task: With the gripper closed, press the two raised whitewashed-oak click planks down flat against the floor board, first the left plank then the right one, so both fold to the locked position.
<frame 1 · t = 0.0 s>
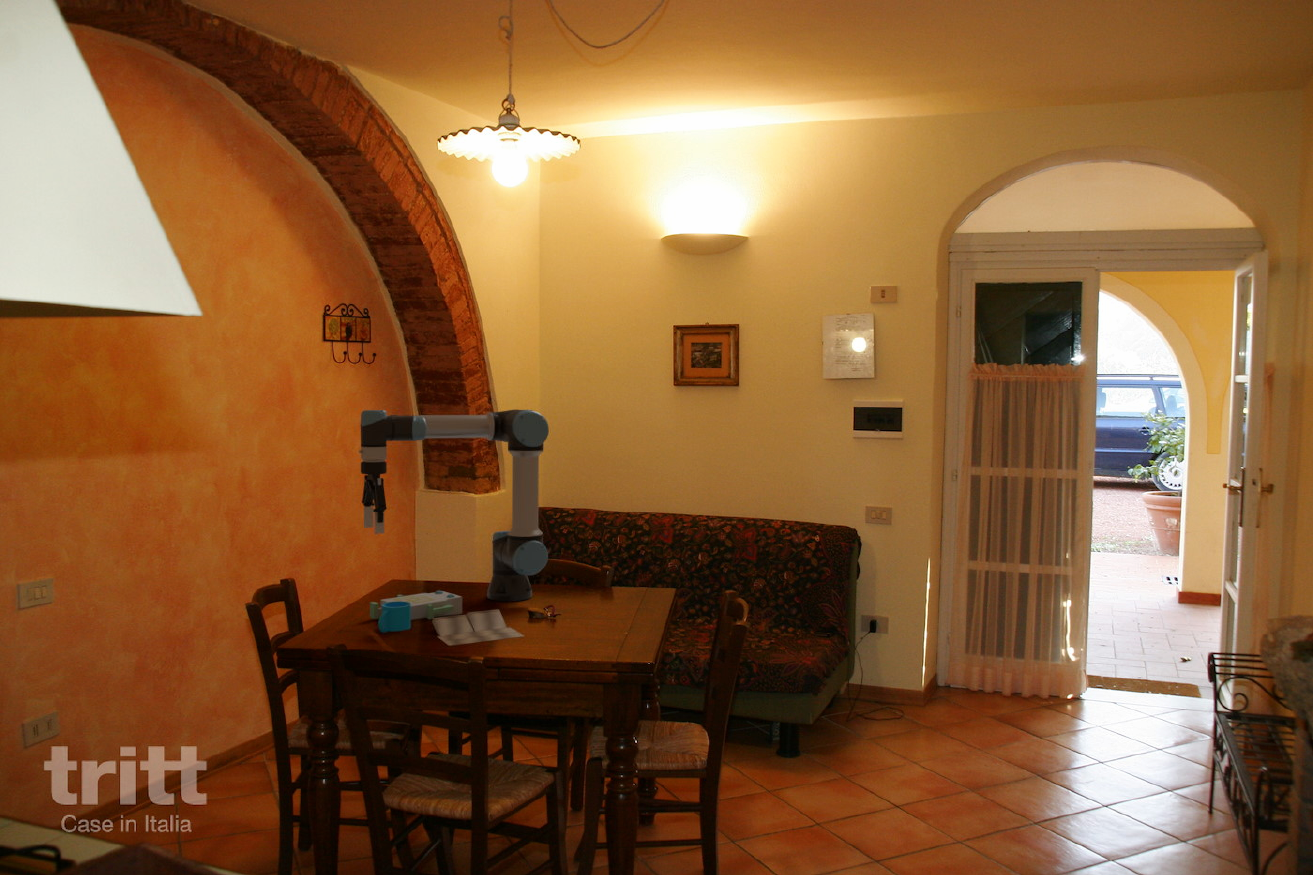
hand: (373, 530, 286), 28 cm above the table, fingers open, 13 cm apart
plank b: (453, 626, 272), point 2 cm above the table, hinge at 25.0°
decorative block: (416, 618, 294), on the table
mug: (392, 634, 274), on the table
plank a: (486, 621, 278), point 3 cm above the table, hinge at 30.0°
floor board: (480, 640, 267), on the table
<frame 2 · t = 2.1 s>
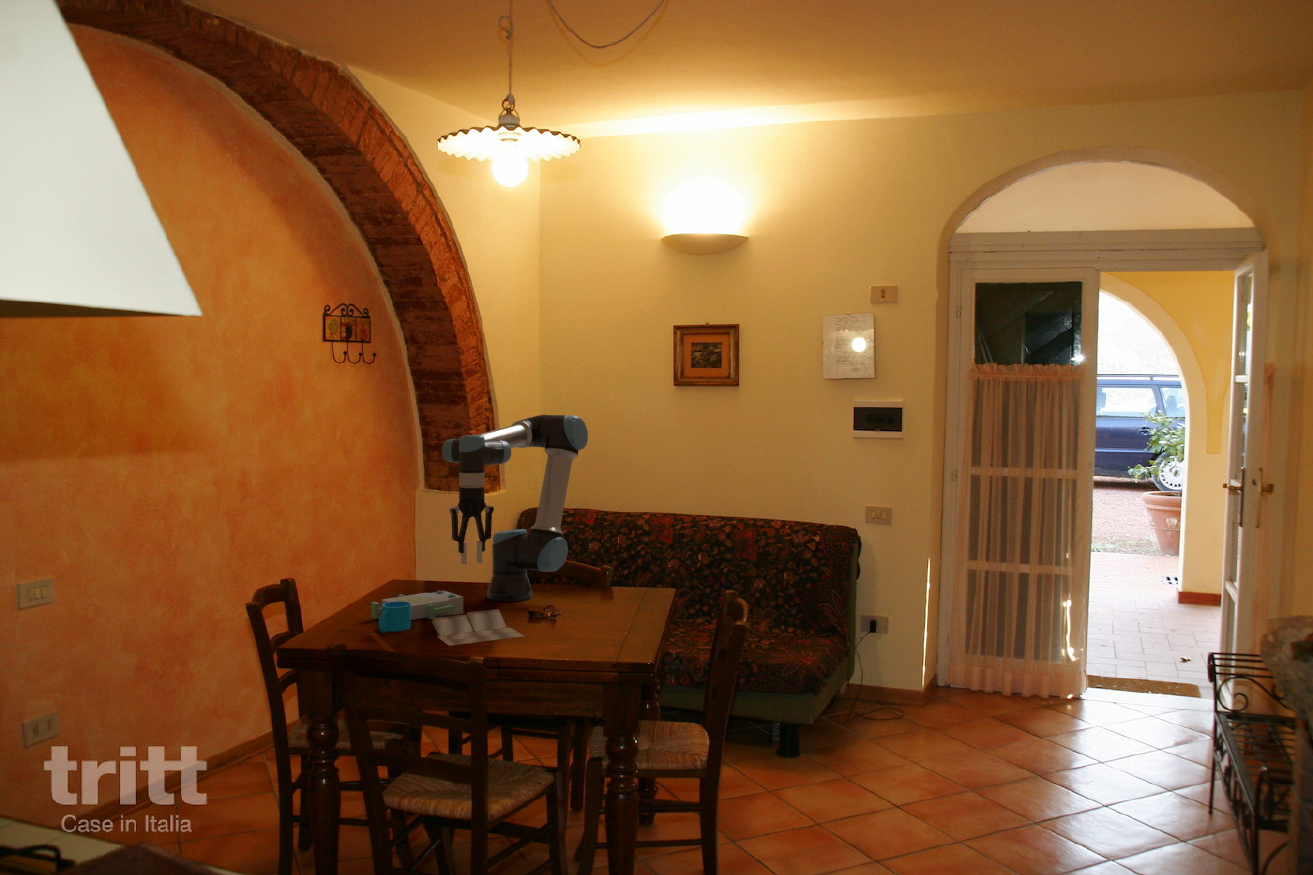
hand: (471, 563, 285), 19 cm above the table, fingers open, 4 cm apart
nothing on the table moved.
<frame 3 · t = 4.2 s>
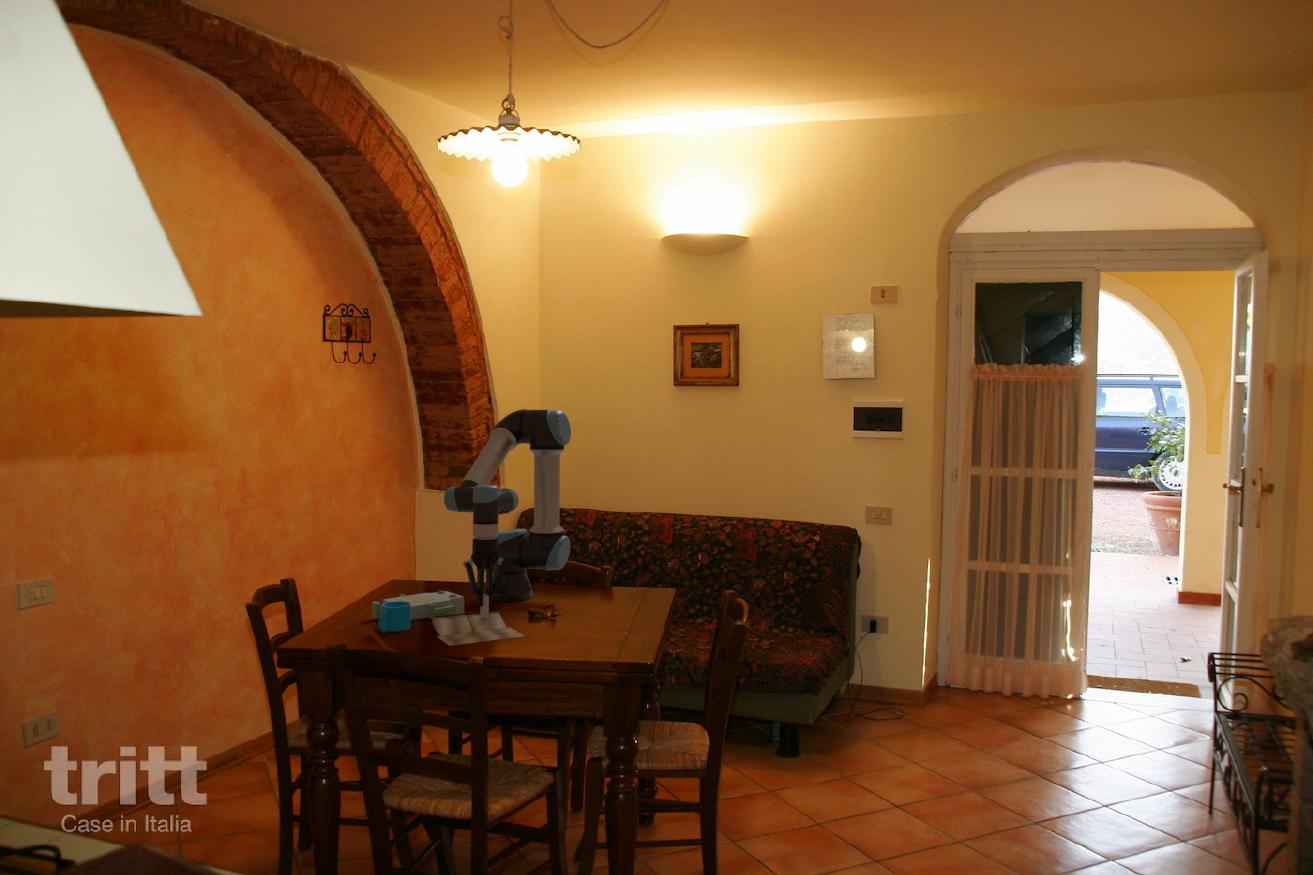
hand: (484, 616, 278), 4 cm above the table, fingers closed
plank a: (486, 623, 278), point 2 cm above the table, hinge at 22.2°, touching gripper
everything else where it was.
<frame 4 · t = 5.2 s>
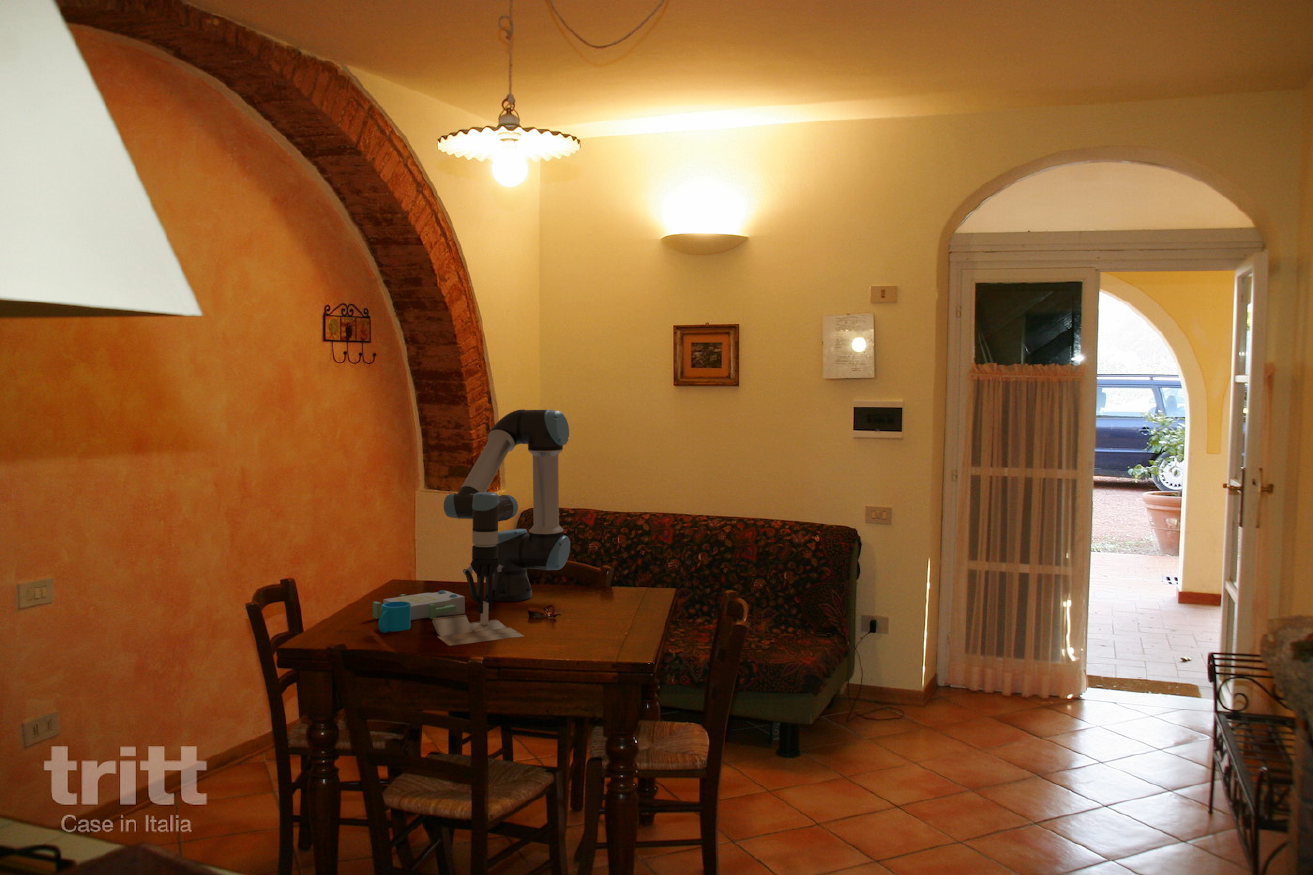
hand: (484, 623, 279), 2 cm above the table, fingers closed
plank a: (486, 627, 278), point 1 cm above the table, hinge at 4.2°, touching gripper
everything else where it was.
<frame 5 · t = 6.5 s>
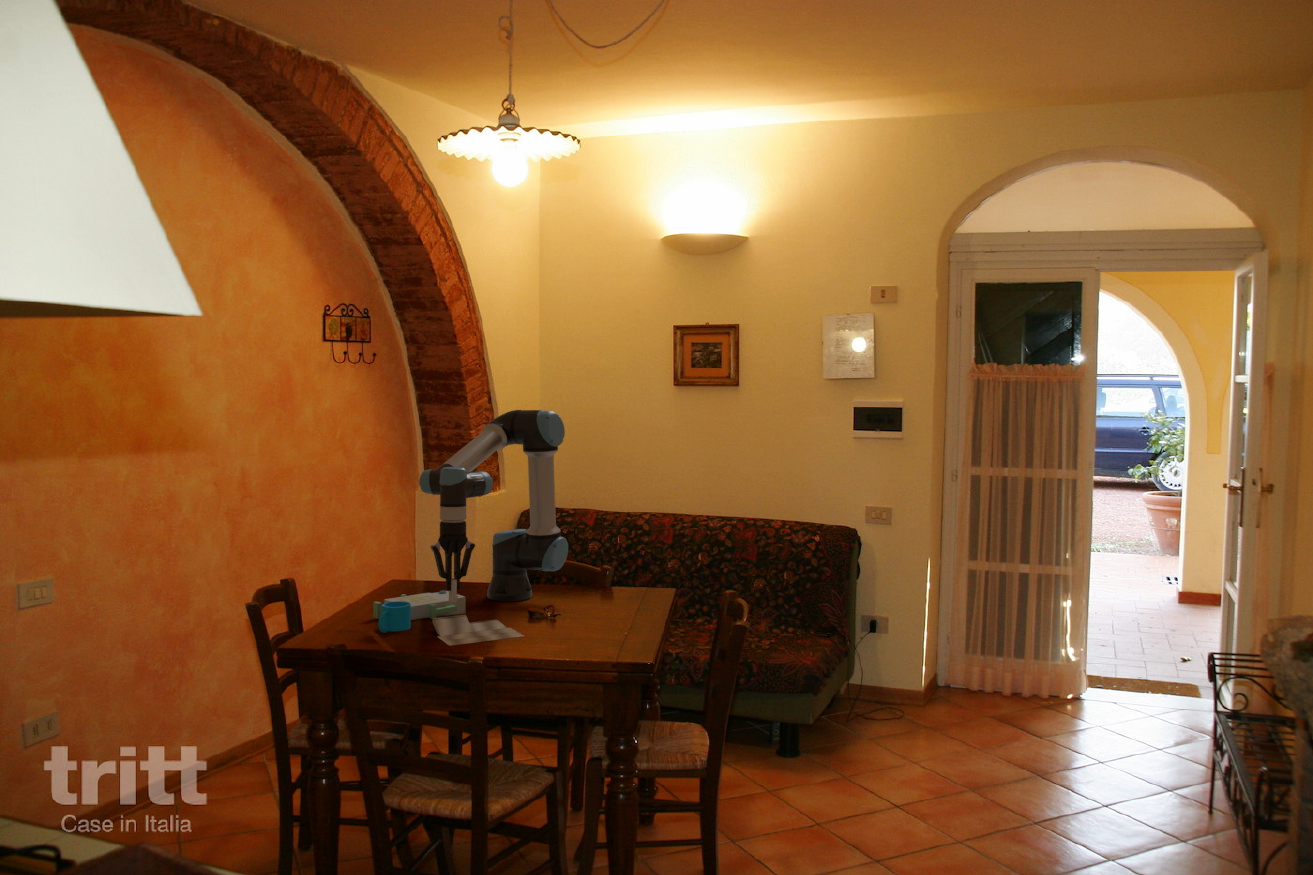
hand: (452, 601, 273), 10 cm above the table, fingers closed
plank a: (486, 627, 278), point 1 cm above the table, hinge at 4.2°
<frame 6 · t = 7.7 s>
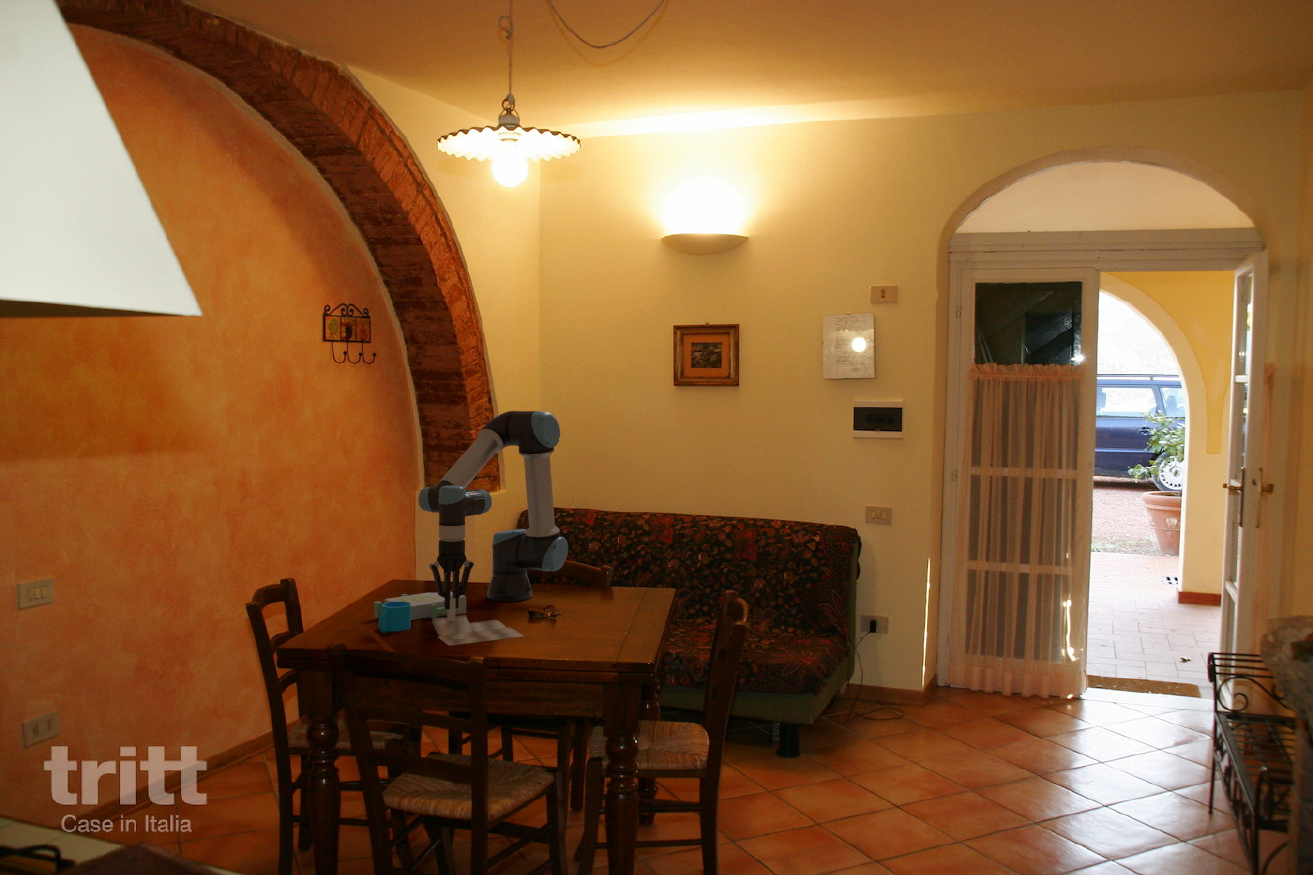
hand: (451, 619, 273), 4 cm above the table, fingers closed
plank b: (453, 626, 273), point 2 cm above the table, hinge at 23.6°, touching gripper
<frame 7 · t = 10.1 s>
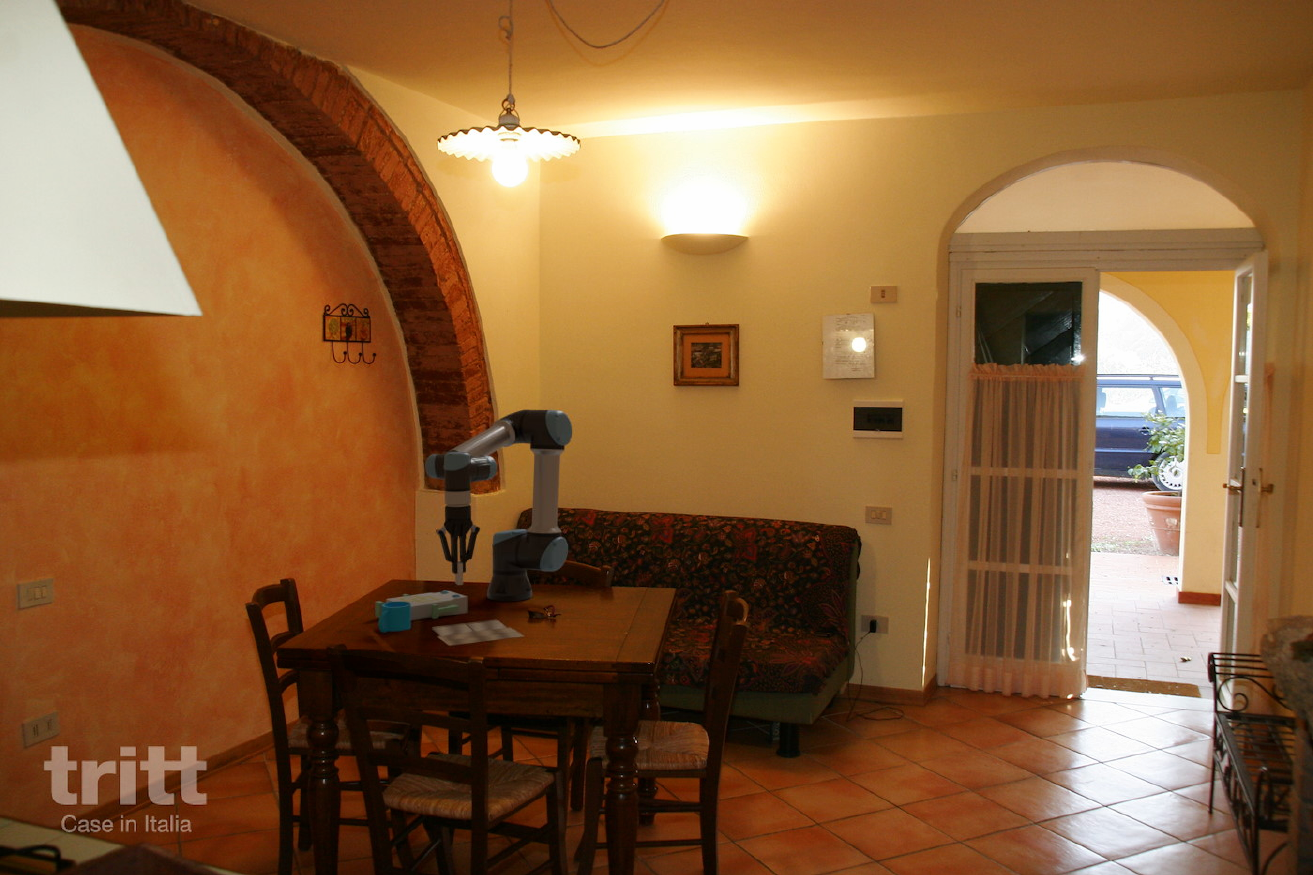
hand: (459, 583, 278), 14 cm above the table, fingers closed
plank b: (452, 631, 273), point 1 cm above the table, hinge at 4.3°
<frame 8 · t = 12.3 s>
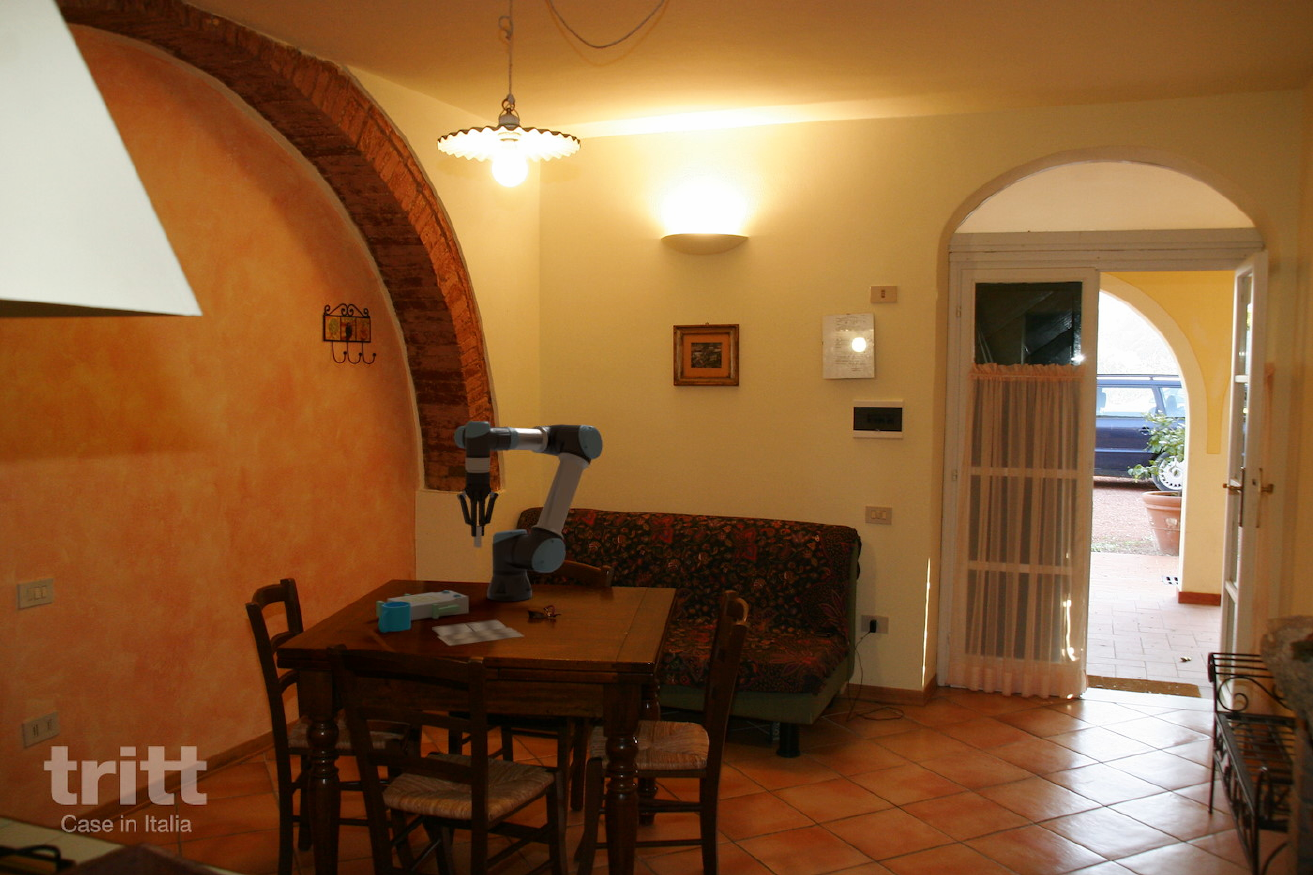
hand: (477, 546, 292), 22 cm above the table, fingers closed
at the end: plank a at +4° (first picture: +30°); plank b at +4° (first picture: +25°) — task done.
